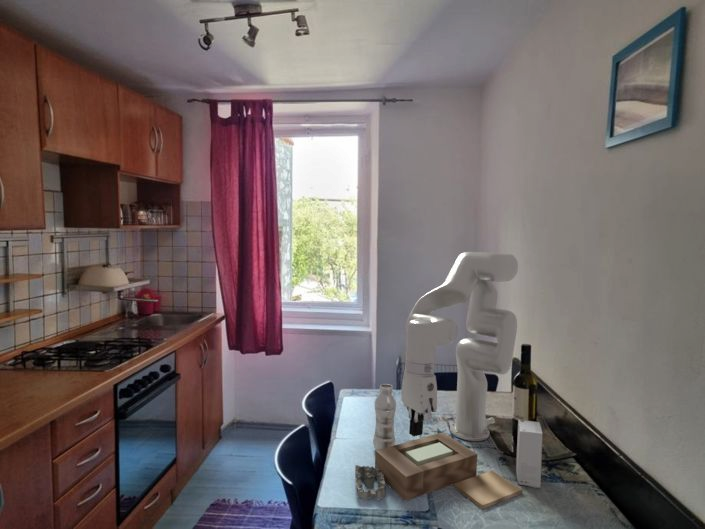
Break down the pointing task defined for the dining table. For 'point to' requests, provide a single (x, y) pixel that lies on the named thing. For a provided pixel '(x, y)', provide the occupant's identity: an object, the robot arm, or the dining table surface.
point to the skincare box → (529, 453)
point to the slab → (428, 454)
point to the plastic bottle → (384, 418)
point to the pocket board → (425, 467)
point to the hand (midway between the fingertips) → (415, 434)
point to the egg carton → (369, 482)
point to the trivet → (487, 489)
